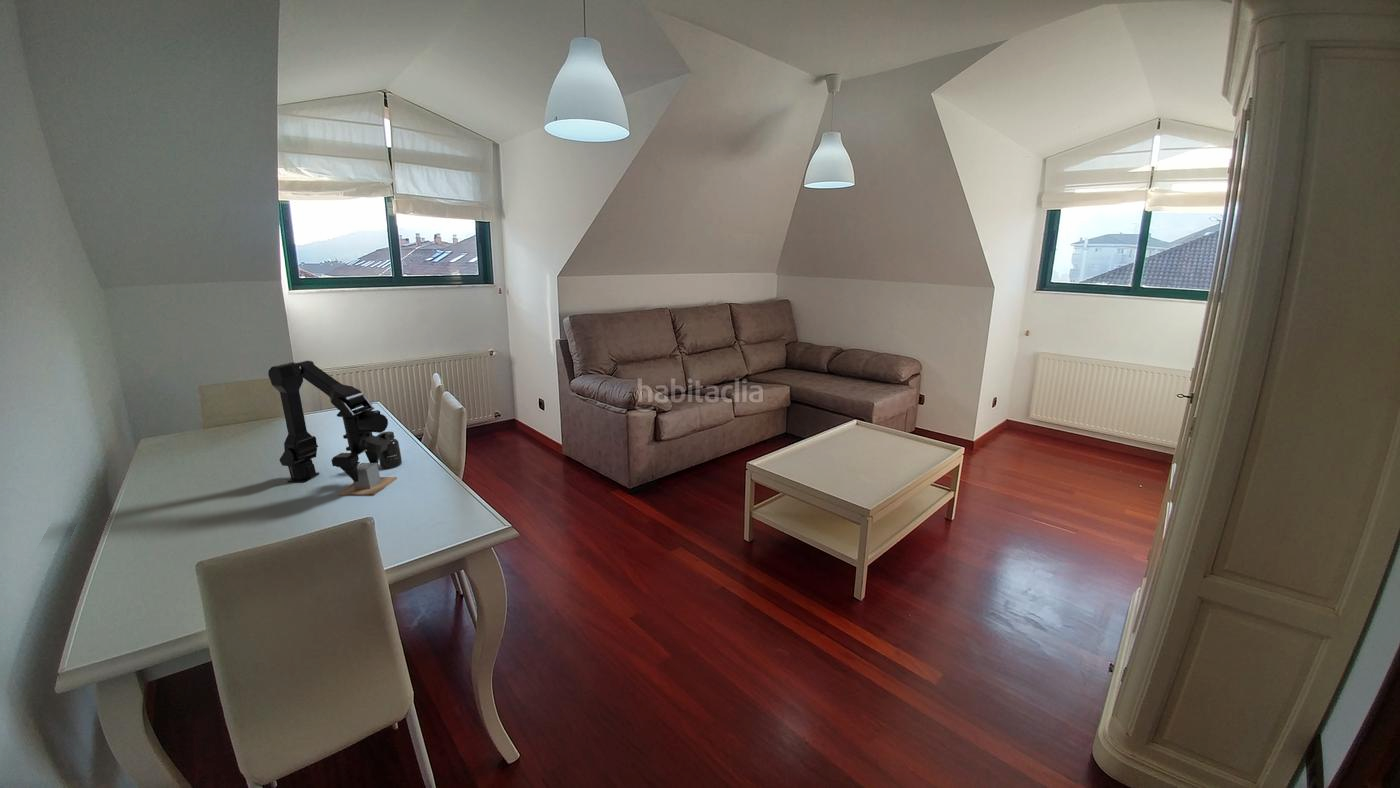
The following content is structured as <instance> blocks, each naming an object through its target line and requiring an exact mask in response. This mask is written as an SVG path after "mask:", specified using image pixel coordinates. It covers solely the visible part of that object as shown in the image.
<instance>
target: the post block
mask: <svg viewBox="0 0 1400 788" xmlns="http://www.w3.org/2000/svg"><path fill="white" fill-rule="evenodd" d="M380 480H381V482H379V483H378V484H377V485H375V486H374V487H372V488H371V489H355V486H354V482H352V483H351V484H350V485H348V486H346V487H345V488H343V489H342V490H340V491H339V492H336V493H337V496H375V495H377V494H378V493H380V492H381V491H382V490H384V489H385V488H386V487H388V486H389V485H390V484H392V483H393V482H394V483H395V481H396V480H398V477H397V476H380Z"/></svg>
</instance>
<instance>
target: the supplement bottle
mask: <svg viewBox="0 0 1400 788" xmlns="http://www.w3.org/2000/svg"><path fill="white" fill-rule="evenodd" d="M383 433H387V434H389V438H390V442H391V443H389V444H388V445H387V450H384V451H383V452H382V453H380V456H379V461H378V463H379V465H380V468H381V469H385V470H387V469H393V468H398V467H400V466H401V465H402V464H403V461H402V460H403V459H402V453H401V448H400V443H399V440H398V439H396V438H395V433H394V431H383V432H381V433H378V434H377V435H379V436H380V435H381V434H383Z"/></svg>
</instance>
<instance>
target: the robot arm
mask: <svg viewBox="0 0 1400 788" xmlns="http://www.w3.org/2000/svg"><path fill="white" fill-rule="evenodd" d="M267 372H268V374H267V375H268V378H269V379H270V384H271V386H272V387H273V388H275V389H276V390H277V391H278V392H279V394H280V400H281V405H282V410H283V414H284V420H285V425H286V428H287V436H286V438H285V441H284V442H283V446H284V447H283V448H284V451H283V453H282V455H281V457H280V458H279V462H280V464H281V465H282V466H283V467H287V468H288V472H289V475H290V478H289V479H288V480H287V483H292V482H293V483H306V482H308V481H309V480H311V479H313V478H315V477H317V476H319V475H320V472H316V468H315V464H314V462H313V460H312V459H315V458H317V451H318V448H319V445H318V442H317V437H316V436H315V435H311V434H310V433H309V432H308V429H307V426H306V420H305V414H304V409H303V404H302V398H301V395H300V389H301V387H302V385H303V383H304V380H306V381H307V382H308V383H310V384H311V385H312V386H314V387H315V388H317V389H318V390H320V391H321V392H323V393H324V394H325V395H327V396H328V397H329V399H330V403H331V404H332V405H333V406H334V407H335V408H336V409H337V410H338V411H339V412H338V413H337V414H336V417H338V418H342V422H343V426H344V430H345V434H343V435H342V437H343V439H345V440H347V443H348V444H347V445H348V446H346V447H345V450H346V452H340V453H338V454H336V455H334V456H333V457H332V458H331V465H332V467H336V468H340V469H341V470H342V471H343V472H344V473H345V474H347V476H348V477H349V478H351V480H352V481H354V482H358V471H357V466H358V465H359V464H361V462H360V461H359V460H360V459H359V457H360V455H362V454H364V453H365V456H366V457H367V460H368V461H369V462H368V463H377V465H379V456H380V453H382V452H383V451H384V450H387V445H388V444H389V443H391V442H390V438H389V434H387V433H383V432H386V430H387V428H388V426H389V420H388V418H387V416H385V415H384V414H381V410H377V409H375V407H374V405H372V404H373V403H371V402H370V401H369V399H368V398H367V397H366V395H364V393H363V392H362V390H360V389H358V388H356V387H354V386H352V385H346V384H343V383H341V382H339V381H337V379H335V378H334V377H332V376H331V375H330V374H328V373H326V371H323V370H322V369H321V368H319V367H318V366H316V364H315V362H314V361H312V360H303V361H300V362H299V361H298V362H293V361H290V362H288V363H283V364H278V365H274V366H271V367H270V369H268V371H267ZM373 433H376V434H377V433H378V434H380V433H383V434H381V435H380V436H379V435H378V434H377V435H373ZM354 482H353V483H354Z"/></svg>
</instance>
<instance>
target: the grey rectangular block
mask: <svg viewBox="0 0 1400 788" xmlns="http://www.w3.org/2000/svg"><path fill="white" fill-rule="evenodd" d="M378 465H379V464H378ZM378 465H377V463H370V462H360V463H359V464H358V466H357V471H358V482H354V481H353V480H352V481H353V482H352V483H354V486H355V489H371V488H372V487H374V486H375V485H377V484H378V483H379V482H381V480H380V477H381V475H380V471H379V467H378Z"/></svg>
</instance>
